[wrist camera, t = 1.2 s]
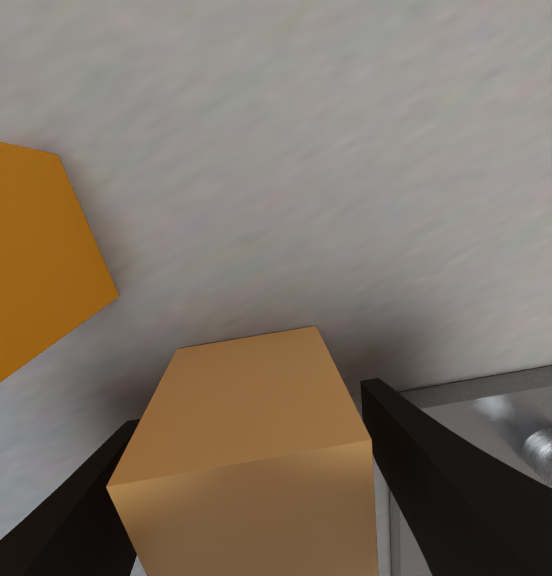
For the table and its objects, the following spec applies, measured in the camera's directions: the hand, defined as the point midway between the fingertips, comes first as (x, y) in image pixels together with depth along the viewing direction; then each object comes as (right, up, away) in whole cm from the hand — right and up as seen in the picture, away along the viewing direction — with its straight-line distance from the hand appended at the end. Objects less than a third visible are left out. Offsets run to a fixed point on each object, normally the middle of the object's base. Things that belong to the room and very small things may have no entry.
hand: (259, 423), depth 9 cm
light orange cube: (0, 0, +1) cm, 1 cm away
